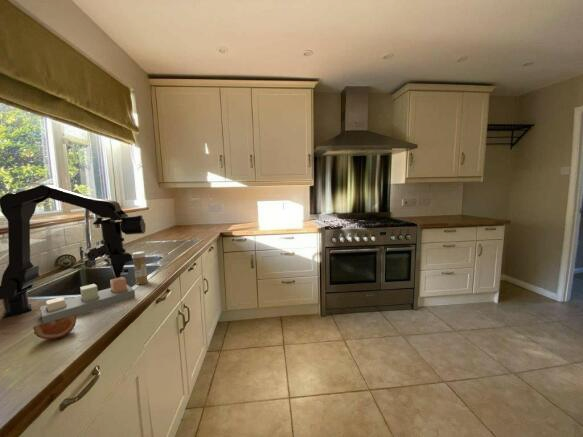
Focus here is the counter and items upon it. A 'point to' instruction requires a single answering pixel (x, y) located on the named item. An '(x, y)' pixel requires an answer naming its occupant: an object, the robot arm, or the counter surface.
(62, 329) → the fruit slice
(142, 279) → the sprinkles bottle
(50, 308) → the ivory key
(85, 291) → the sage key
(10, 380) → the counter surface
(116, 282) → the terracotta key
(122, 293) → the key panel
